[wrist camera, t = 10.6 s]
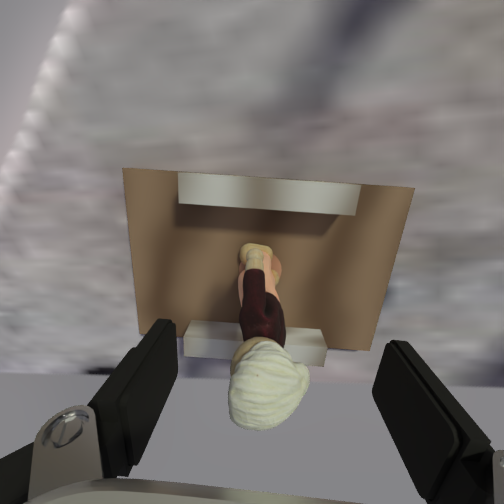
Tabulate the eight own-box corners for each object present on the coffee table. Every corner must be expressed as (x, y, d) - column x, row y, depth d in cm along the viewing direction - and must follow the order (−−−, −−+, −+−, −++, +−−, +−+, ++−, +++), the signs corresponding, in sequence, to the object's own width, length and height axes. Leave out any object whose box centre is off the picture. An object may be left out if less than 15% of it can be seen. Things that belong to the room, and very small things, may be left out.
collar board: (405, 187, 19) (438, 190, 15) (364, 342, 23) (382, 371, 20) (130, 168, 19) (101, 167, 15) (145, 326, 24) (126, 351, 20)
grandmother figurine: (220, 241, 19) (155, 357, 7) (263, 223, 19) (272, 315, 7) (257, 316, 21) (256, 502, 9) (297, 301, 21) (350, 480, 9)
